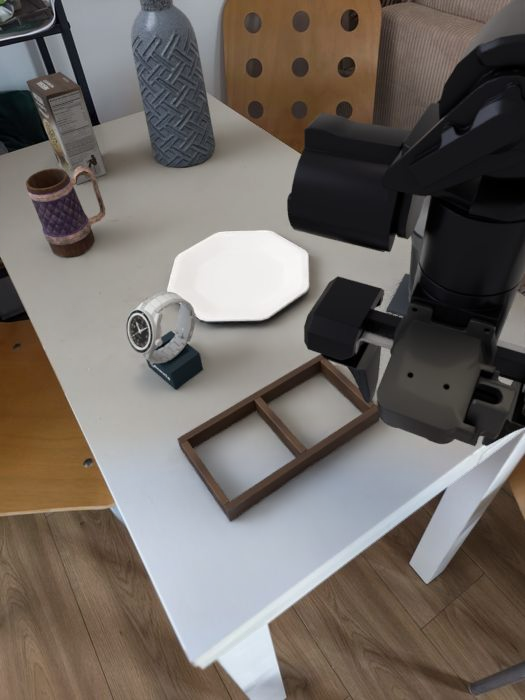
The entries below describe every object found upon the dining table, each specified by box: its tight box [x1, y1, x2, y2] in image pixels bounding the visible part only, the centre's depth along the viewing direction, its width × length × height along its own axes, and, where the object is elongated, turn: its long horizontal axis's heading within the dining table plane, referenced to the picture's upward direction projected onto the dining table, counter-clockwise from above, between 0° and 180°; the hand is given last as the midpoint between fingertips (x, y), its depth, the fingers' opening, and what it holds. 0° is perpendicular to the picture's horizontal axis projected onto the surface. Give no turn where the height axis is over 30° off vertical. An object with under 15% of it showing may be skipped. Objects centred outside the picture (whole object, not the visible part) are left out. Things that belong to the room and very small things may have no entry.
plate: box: [166, 229, 310, 324], centre depth 74 cm, size 20×20×2 cm
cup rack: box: [177, 353, 380, 522], centre depth 55 cm, size 10×19×2 cm, turn 125°
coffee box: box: [25, 71, 107, 185], centre depth 93 cm, size 9×6×16 cm
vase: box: [130, 0, 216, 168], centre depth 91 cm, size 12×12×28 cm
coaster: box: [385, 273, 410, 317], centre depth 69 cm, size 8×8×1 cm
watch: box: [125, 291, 204, 391], centre depth 60 cm, size 6×8×11 cm
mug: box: [25, 165, 106, 258], centre depth 79 cm, size 10×7×12 cm
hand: (425, 419), depth 41 cm, fingers open, 9 cm apart
